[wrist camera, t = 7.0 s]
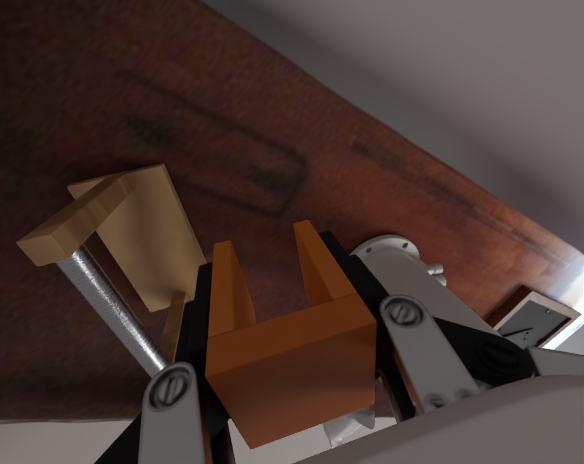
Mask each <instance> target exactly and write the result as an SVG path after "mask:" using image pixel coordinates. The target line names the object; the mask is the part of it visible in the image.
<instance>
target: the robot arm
mask: <svg viewBox="0 0 584 464" xmlns="http://www.w3.org/2000/svg"><path fill="white" fill-rule="evenodd" d="M318 235H319V236H320V238H321V239H322V241H323V242H324V244H325V245H326V247H327V248H328V250H329V251H330V253H331V254H332V256H333V257H334V259H335V260H336V262H337V263H338V265H339V266H340V268H341V269H342V271H343V272H344V274H345V275H346V277H347V278H348V280H349V281H350V282H351V284H352V285H353V287H354V288H355V290H356V291H357V293H358V294H359V296H360V297H361V299H362V300H363V302H364V303H365V305H366V306H367V308H368V309H369V311H370V312H371V314H372V315H373V317H374V318H375V319H376V322H377V325H376V359H375V367H376V368H378V371H379V373H380V376H381V379H382V382H383V385H384V388H385V391H386V394H387V396H388V399H389V402H390V405H391V408H392V411H393V414H394V416H395V419H396V422H397V424H395V425H393V426H390V427H387V428H385V429H382V430H379V431H377V432H374V433H372V434H369V435H367V436H364V437H361V438H358V439H356V440H353V441H351V442H348V443H345V444H343V445H340V446H337V447H335V448H332V449H330V450H327V451H324V452H322V453H320V454H317V455H314V456H311V457H309V458H307V459H304V460H301V461H298V462H296V463H293V464H584V355H579V354H574V353H568V352H562V351H556V350H551V349H545V348H539V347H533V346H526V348H525V349H523V348H520V347H519V346H518V345H516V344H515V343H513V342H511V341H510V340H508V339H506V338H503V337H502V336H501V335H500V334H498V333H497V332H496V331H495V330H494V329H493V328H492V327H490V326H489V325H488V324H487V323H486V322H485V321H484V320H482V319H481V318H480V317H479V316H478V315H477V314H476V313H474V312H473V311H472V310H471V309H470V308H469V307H468V306H466V305H465V304H464V303H463V302H462V301H461V300H460V299H458V298H457V297H456V296H455V295H454V294H453V293H452V292H450V291H449V290H448V289H447V288H446V287H445V285H446V279H445V277H444V276H443V275H441V274H438V275H431V274H436V273H442V272H443V267H442V265H441V264H439V263H438V264H432V265H428V266H427V265H426V264H425V263H423V262H422V261H421V260H420V257H419V252H418V250H417V248H416V247H415V245H414V244H413V243H411V242H410V241H409V240H408V239H406V238H404V237H402V236H399V235H382V236H378V237H375V238H372V239H370V240H368V241H366V242H364V243H363V244H361V245H360V246H358V247H357V248H356V249H355V250H354V251H353V252H351V254H350V255H348V253H347V252H346V251H345V250H344V248H343V247H342V246H341V244H340V243H339V242H338V241H337V239H336V238H335V237H334V235H333V234H332V233H331V232H330V231H326V232H322V233H319V234H318ZM212 268H213V262H210V263H207V264H203V265H200V266H199V268H198V275H197V282H196V289H195V296H194V300H192V301H188V302H186V303H185V306H184V311H183V316H182V322H181V327H180V333H179V338H178V343H177V349H176V354H175V360H174V363H173V364H170V365H168V366H166V367H165V368H163V369H162V370H161V371H159V372H158V373H157V374H156V375H155V376H154V377H153V379H152V380H151V381H150V382H149V384H148V386H147V388H146V390H145V393H144V397H143V405H142V412H141V413H140V414H139V415H138V416H137V417H136V418H135V419H134V421H133V422H132V423H131V424H130V425H129V426H128V427H127V428H126V429H125V430H124V431H123V433H122V434H121V435H120V436H119V437H118V438H117V439H116V440H115V441H114V442H113V444H112V445H111V446H110V447H109V448H108V449H107V450H106V451H105V452H104V453H103V454H102V456H101V457H100V458H99V459H98V460H97V461H96V462H95V463H94V464H236V463H235V458H234V453H233V447H232V443H231V437H230V432H229V427H228V422H227V421H228V420H229V418H230V416H229V414H228V413H227V411H226V409H225V408H224V406H223V405H222V403H221V401H220V400H219V398H218V396H217V395H216V393H215V392H214V390H213V388H212V387H211V385H210V384H209V382H208V380H207V379H206V377H205V370H206V355H207V341H208V329H209V314H210V298H211V283H212Z"/></svg>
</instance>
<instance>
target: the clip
mask: <svg viewBox="0 0 584 464" xmlns="http://www.w3.org/2000/svg"><path fill="white" fill-rule="evenodd" d="M293 226H294V232H295V237H296V243H297V249H298V254H299V260H300V265H301V271H302V276H303V282H304V288H305V293H306V295H307V297H308V300H309V302H310V305H311V307H309V308H306V309H302V310H299V311H296V312H293V313H289V314H286V315H283V316H280V317H276V318H273V319H270V320H266V321H263V322H260V323H257V324H256V319H255V312H254V306H253V303H252V300H251V297H250V294H249V291H248V289H247V286H246V283H245V280H244V277H243V274H242V271H241V268H240V265H239V262H238V259H237V256H236V254H235V251H234V248H233V245H232V242H231V240H228V241H224V242H220V243H216V244H214V253H213V268H212V283H211V298H210V314H209V329H208V341H207V355H206V370H205V377H206V379H207V380H208V382H209V384H210V385H211V387H212V388H213V390H214V392H215V393H216V395H217V396H218V398H219V400H220V401H221V403H222V405H223V406H224V408H225V409H226V411H227V413H228V414H229V416H230V417H231V419H232V421H233V422H234V424H235V426H236V427H237V428H238V430H239V432H240V434H241V435H242V437H243V438H244V440H245V442H246V443H247V445H248V446H249V448H250V449H254V448H256V447H259V446H262V445H264V444H267V443H270V442H273V441H275V440H278V439H281V438H283V437H286V436H289V435H292V434H294V433H297V432H300V431H302V430H305V429H308V428H311V427H313V426H316V425H319V424H322V423H324V422H327V421H330V420H333V419H335V418H338V417H341V416H343V415H346V414H349V413H352V412H354V411H357V410H360V409H363V408H365V407H368V406H371V405H373V404H374V393H375V359H376V325H377V322H376V319H375V318H374V317H373V315H372V314H371V312H370V311H369V309H368V308H367V306H366V305H365V303H364V302H363V300H362V299H361V297H360V296H359V294H358V293H357V291H356V290H355V288H354V287H353V285H352V284H351V282H350V281H349V280H348V278H347V277H346V275H345V274H344V272H343V271H342V269H341V268H340V266H339V265H338V263H337V262H336V260H335V259H334V257H333V256H332V254H331V253H330V251H329V250H328V248H327V247H326V245H325V244H324V242H323V241H322V239H321V238H320V236H319V235H318V233H317V232H316V230H315V229H314V227H313V226H312V224H311V223H310V221H309V220H305V221H301V222H297V223H294V224H293Z"/></svg>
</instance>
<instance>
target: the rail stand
mask: <svg viewBox="0 0 584 464" xmlns="http://www.w3.org/2000/svg"><path fill="white" fill-rule="evenodd" d="M67 189H68V190H69V192H70V193H71V195H72V196H73V198H74V199H75V200H74V201H73V202H72V203H70V204H69V205H67V206H66V207H65V208H63V209H62V210H61V211H59V212H58V213H56V214H55V215H54V216H52V217H51V218H49V219H48V220H47V221H45V222H44V223H42V224H41V225H40V226H38V227H37V228H35V229H34V230H33V231H31V232H30V233H29V234H27V235H26V236H24V237H23V238H22V239H20V240H19V241H17V242H16V243H17V245H18V246H19V247H20V248H21V249H22V250H23V251H24V252H25V254H26V255H27V256H28V257H29V258H30V259H31V260H32V261H33V263H34V264H35V265H36V266H42V265H46V264H50V263H54V262H55V263H56V264H57V265H58V267H59V268H60V269H61V270H62V271H63V273H64V274H65V275H66V276H67V277H68V279H69V280H70V281H71V282H72V283H73V285H74V286H75V287H76V288H77V289H78V291H79V292H80V293H81V294H82V295H83V297H84V298H85V299H86V300H87V301H88V303H89V304H90V305H91V306H92V307H93V308H94V310H95V311H96V312H97V313H98V314H99V316H100V317H101V318H102V319H103V320H104V322H105V323H106V324H107V325H108V326H109V328H110V329H111V330H112V331H113V332H114V334H115V335H116V336H117V337H118V338H119V340H120V341H121V342H122V343H123V344H124V345H125V347H126V348H127V349H128V350H129V351H130V353H131V354H132V355H133V356H134V357H135V359H136V360H137V361H138V362H139V363H140V365H141V366H142V367H143V368H144V369H145V371H146V372H147V373H148V374H149V375H150V377H151V378H152V379H153V377H154V376H155V375H156V374H157V373H158V372H159V371H161V370H162V369H163V368H165V367H166V366H168V365H170V364H173V363H174V360H175V354H176V349H177V343H178V338H179V333H180V327H181V322H182V316H183V311H184V306H185V303H186V302H188V301H192V300H194V296H195V289H196V282H197V275H198V268H199V266H200V265H203V264H207V262H206V260H205V257H204V255H203V253H202V250H201V248H200V246H199V243H198V241H197V239H196V237H195V234H194V232H193V230H192V227H191V225H190V223H189V220H188V218H187V216H186V213H185V211H184V209H183V206H182V204H181V202H180V200H179V197H178V195H177V193H176V190H175V188H174V186H173V183H172V181H171V179H170V176H169V174H168V172H167V169H166V167H165V165H164V163H161V164H156V165H152V166H147V167H143V168H138V169H133V170H129V171H124V172H120V173H115V174H110V175H106V176H101V177H96V178H92V179H87V180H83V181H78V182H73V183H72V184H70V185H68V186H67ZM95 230H96V232H97V233H98V235H99V236H100V238H101V239H102V241H103V242H104V244H105V245H106V247H107V248H108V250H109V251H110V253H111V254H112V256H113V257H114V259H115V260H116V262H117V263H118V265H119V266H120V268H121V269H122V271H123V272H124V274H125V275H126V277H127V278H128V280H129V281H130V282H131V284H132V285H133V287H134V288H135V290H136V291H137V293H138V294H139V296H140V297H141V299H142V300H143V302H144V303H145V305H146V306H147V308H148V309H149V311H150V312H153V311H157V310H160V309H164V308H167V307H169V311H168V315H167V319H166V323H165V327H164V331H163V335H162V339H161V343H160V347H158V345H157V344H156V343H155V341H154V340H153V338H152V337H151V336H150V334H149V333H148V332H147V330H146V329H145V327H144V326H143V325H142V323H141V322H140V321H139V319H138V318H137V316H136V315H135V314H134V312H133V311H132V309H131V308H130V307H129V305H128V304H127V303H126V301H125V300H124V298H123V297H122V296H121V294H120V293H119V292H118V290H117V289H116V287H115V286H114V285H113V283H112V282H111V280H110V279H109V278H108V276H107V275H106V274H105V272H104V271H103V269H102V268H101V267H100V265H99V264H98V263H97V261H96V260H95V258H94V257H93V256H92V254H91V253H90V251H89V250H88V249H87V247H86V246H85V245H84V242H85V241H86V240H87V239H88V238H89V236H90V235H91V234H92V233H93V232H94V231H95ZM152 379H151V380H152Z"/></svg>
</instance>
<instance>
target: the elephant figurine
mask: <svg viewBox="0 0 584 464" xmlns="http://www.w3.org/2000/svg"><path fill="white" fill-rule="evenodd" d="M374 423H375V412H374V411H373V410H371V409H370V407H369V406H368V407H365V408H363V409H360V410H357V411H354V412H352V413H349V414H346V415H343V416H341V417H338V418H335V419H333V420H330V421H327V422H324V423H323V427H324V430H325V433H326V435H327V437H328V439H329V442H330V444H331V447H332V448H335V447H337V446H340V445H343V443H342V441H341V439H342V438H345V437H348V436H349V435H350V434H351V433H352V432H354V431H355V430H356V429H357V428H358V427H359V426H361V425H363V426H366V427H368V428H370V429H373V428H374Z"/></svg>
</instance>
